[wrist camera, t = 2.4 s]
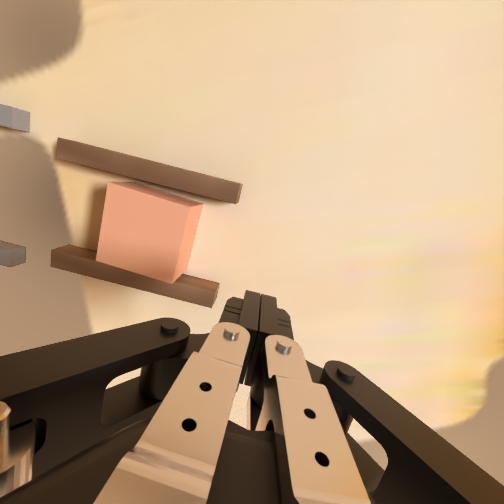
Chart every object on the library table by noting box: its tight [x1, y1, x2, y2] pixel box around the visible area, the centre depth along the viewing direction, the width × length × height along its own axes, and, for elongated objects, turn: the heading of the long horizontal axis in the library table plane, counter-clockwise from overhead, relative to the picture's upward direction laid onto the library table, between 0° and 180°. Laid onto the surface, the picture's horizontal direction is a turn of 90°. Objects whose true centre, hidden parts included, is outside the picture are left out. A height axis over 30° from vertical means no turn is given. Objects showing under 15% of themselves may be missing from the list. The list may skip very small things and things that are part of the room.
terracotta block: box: [96, 182, 203, 284], centre depth 21 cm, size 6×6×4 cm
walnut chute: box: [51, 138, 243, 308], centre depth 22 cm, size 10×14×2 cm
